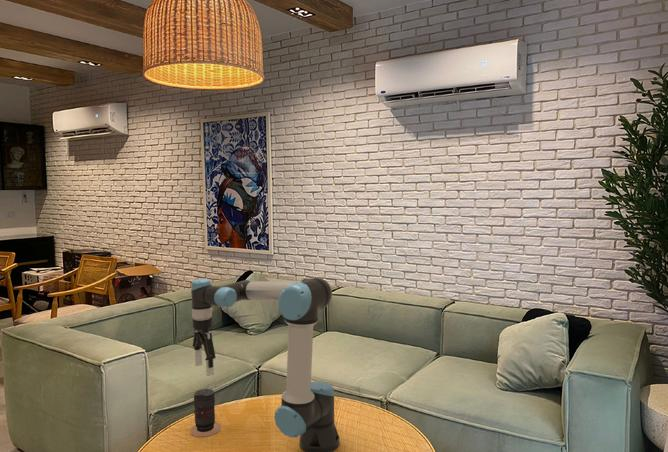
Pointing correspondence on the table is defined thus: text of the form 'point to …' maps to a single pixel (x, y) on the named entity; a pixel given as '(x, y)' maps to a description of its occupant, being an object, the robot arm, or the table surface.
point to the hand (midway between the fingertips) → (204, 370)
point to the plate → (205, 434)
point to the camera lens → (204, 409)
